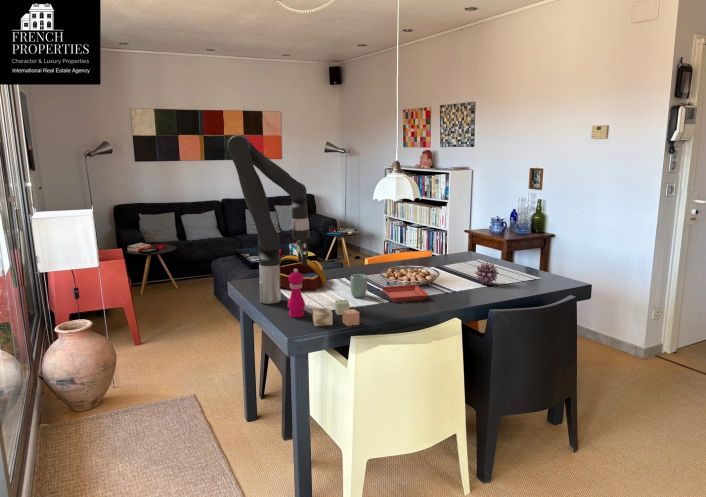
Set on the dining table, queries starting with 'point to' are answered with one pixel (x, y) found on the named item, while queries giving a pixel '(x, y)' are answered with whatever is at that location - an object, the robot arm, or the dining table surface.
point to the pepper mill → (296, 295)
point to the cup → (358, 285)
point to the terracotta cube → (350, 317)
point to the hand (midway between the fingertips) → (302, 263)
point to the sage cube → (341, 306)
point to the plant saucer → (405, 293)
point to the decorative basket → (311, 274)
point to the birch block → (322, 317)
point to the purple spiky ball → (486, 273)
